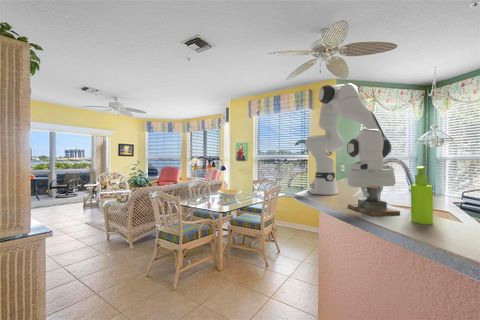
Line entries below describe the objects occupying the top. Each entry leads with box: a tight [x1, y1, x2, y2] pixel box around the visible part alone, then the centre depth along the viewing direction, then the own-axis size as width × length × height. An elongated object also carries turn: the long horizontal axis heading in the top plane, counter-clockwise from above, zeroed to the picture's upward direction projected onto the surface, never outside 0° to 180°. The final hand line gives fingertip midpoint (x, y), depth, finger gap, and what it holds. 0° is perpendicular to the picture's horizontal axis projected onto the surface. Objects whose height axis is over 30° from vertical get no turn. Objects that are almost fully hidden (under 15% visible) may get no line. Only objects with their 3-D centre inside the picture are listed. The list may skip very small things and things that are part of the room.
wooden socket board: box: [347, 198, 401, 217], centre depth 93 cm, size 16×12×4 cm
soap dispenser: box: [410, 165, 434, 225], centre depth 76 cm, size 6×7×20 cm
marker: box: [366, 186, 379, 202], centre depth 93 cm, size 4×4×8 cm
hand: (371, 196), depth 93 cm, fingers closed on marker, 4 cm apart
